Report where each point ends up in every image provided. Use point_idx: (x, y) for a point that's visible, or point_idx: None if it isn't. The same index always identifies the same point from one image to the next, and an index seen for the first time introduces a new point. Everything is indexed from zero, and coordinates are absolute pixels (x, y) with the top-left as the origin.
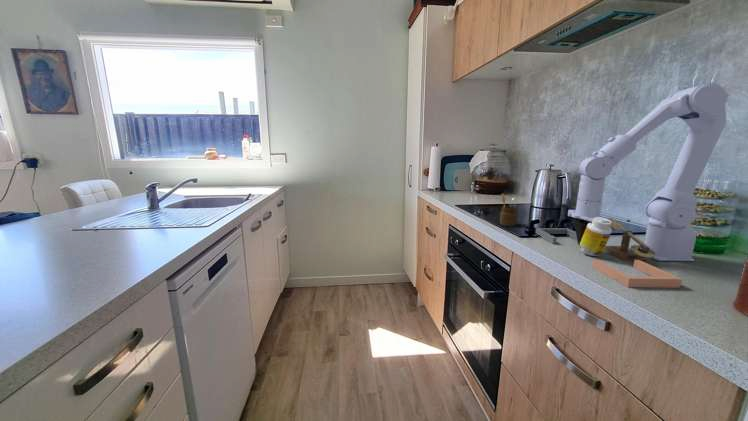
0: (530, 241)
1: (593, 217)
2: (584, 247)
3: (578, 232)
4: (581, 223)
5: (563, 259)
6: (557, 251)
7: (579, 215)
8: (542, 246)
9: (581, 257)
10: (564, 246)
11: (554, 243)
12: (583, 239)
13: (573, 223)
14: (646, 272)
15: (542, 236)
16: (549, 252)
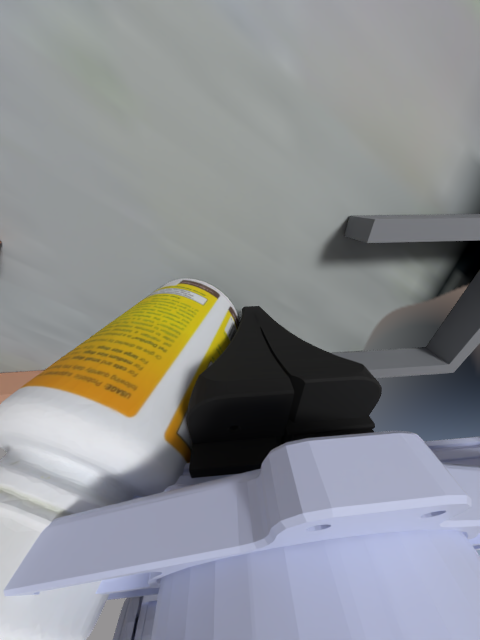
0: (457, 46)
1: (148, 585)
2: (158, 290)
3: (263, 338)
4: (214, 408)
5: (49, 90)
6: (221, 159)
7: (278, 555)
8: (326, 93)
9: (139, 250)
10: (301, 260)
11: (348, 227)
12: (159, 309)
13: (336, 365)
14: (25, 374)
15: (467, 214)
16: (192, 60)
